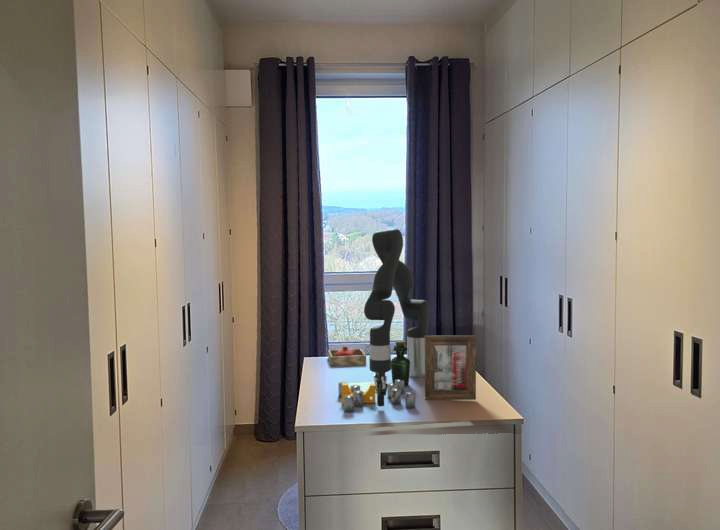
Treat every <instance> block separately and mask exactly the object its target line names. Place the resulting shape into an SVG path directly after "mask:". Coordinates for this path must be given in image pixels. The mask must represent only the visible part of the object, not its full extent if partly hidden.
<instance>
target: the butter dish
mask: <svg viewBox="0 0 720 530" xmlns="http://www.w3.org/2000/svg"><path fill="white" fill-rule="evenodd" d="M339 350H340V351H338V352H337V353H336V356H355V353H354V351H353V350H349V347H348V346H345V345H344V346H342V349H339Z"/></svg>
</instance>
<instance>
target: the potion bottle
mask: <svg viewBox="0 0 720 530" xmlns="http://www.w3.org/2000/svg"><path fill="white" fill-rule="evenodd" d="M405 343H406V341H405V340H400V339H399V340H395V346H394V347H393V348H392V349H393V351H395V354H396V356H395V357H393V358H391V370H390V371H391V380H392V382H391V383H395V380H396V379H403V380H404V388H405V387H407V386H409V383H410V376H409V372H410V360H409V359H408V358H407V356H405V352H407V345H406V346H405Z"/></svg>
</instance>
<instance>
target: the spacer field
mask: <svg viewBox="0 0 720 530" xmlns="http://www.w3.org/2000/svg"><path fill="white" fill-rule="evenodd" d="M343 383H348V382H346V381H341V382H338V384H337V385H338V389H337V390H338V391H337V392H338V398H341V399H342V384H343ZM386 384H387V385H388V386H387V391H386V396H387V397H386V398H387V399H389V400H391V402H390V403H391V404H392V405H393V406H395V405H396V406H398V405H401V404H402V395H404V396H405V397H404V401H405V403H404V407H405V408H407V409H409V410H410V409H411V410H412V409H416V392H414V391H406V392H405V387H404V380H403V379H396V380H395V383H393V382H389V383H386ZM351 391H352V392H353V396H352V395H346V396H344V404H343V412H344V413H353V412H355V408H362V407H364V403H363V391H360V386H359V385H352V386H351Z"/></svg>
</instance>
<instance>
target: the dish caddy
mask: <svg viewBox="0 0 720 530" xmlns="http://www.w3.org/2000/svg"><path fill="white" fill-rule="evenodd" d="M348 349H349V348H348ZM340 350H341V349H328V350H327V351H328V352H327V354H328V355H327V356H328V357H327V359H328V361H329V363H330V366H331V367H341V366H344V365H347V366H365V365H364V364H366V365H367V355H366V353H365V352H364V351H363V349H362V348H350V349H349V350H353V351H354V353H355V356H336V353H337V352H338V351H340Z"/></svg>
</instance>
